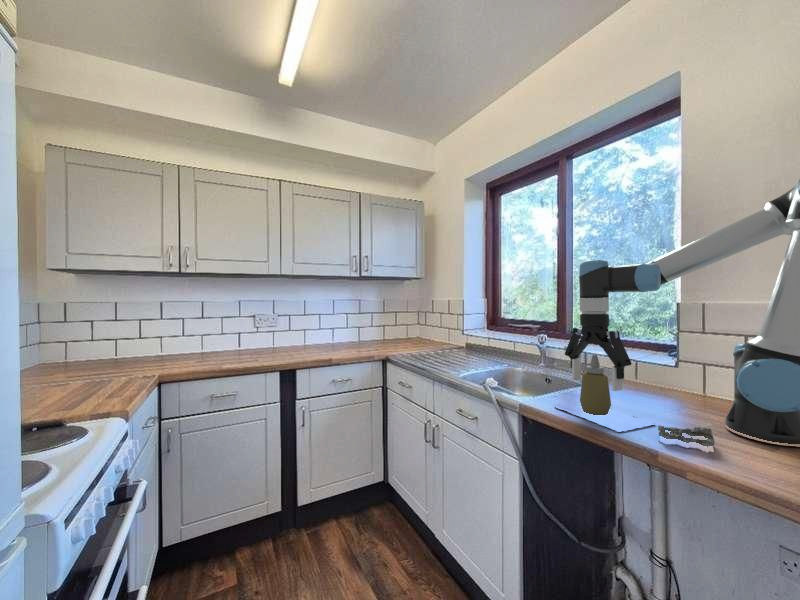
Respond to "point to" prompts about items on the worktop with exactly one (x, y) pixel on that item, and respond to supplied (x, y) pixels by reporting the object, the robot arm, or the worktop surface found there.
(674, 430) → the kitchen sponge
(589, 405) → the squeeze bottle
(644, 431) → the worktop surface
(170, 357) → the worktop surface
